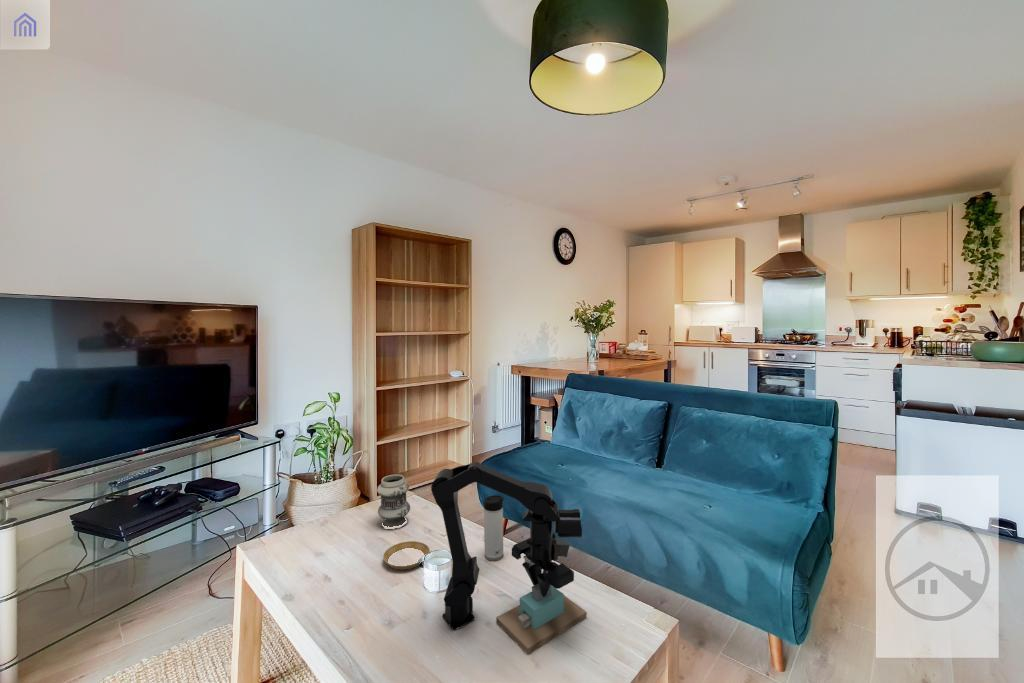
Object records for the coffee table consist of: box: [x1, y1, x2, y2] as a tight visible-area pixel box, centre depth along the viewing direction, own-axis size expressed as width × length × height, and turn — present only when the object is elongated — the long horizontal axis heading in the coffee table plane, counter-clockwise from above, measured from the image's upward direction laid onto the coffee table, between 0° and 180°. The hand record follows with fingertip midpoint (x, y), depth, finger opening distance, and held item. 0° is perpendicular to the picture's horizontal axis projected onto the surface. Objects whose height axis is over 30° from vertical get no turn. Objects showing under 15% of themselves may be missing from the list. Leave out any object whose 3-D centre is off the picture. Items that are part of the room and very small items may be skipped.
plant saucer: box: [383, 540, 430, 570], centre depth 138 cm, size 15×15×3 cm
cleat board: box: [495, 595, 588, 655], centre depth 110 cm, size 20×13×4 cm, turn 127°
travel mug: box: [483, 494, 505, 562], centre depth 139 cm, size 6×7×20 cm
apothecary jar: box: [376, 473, 411, 527], centre depth 162 cm, size 12×12×18 cm
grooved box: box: [519, 583, 564, 629], centre depth 110 cm, size 10×6×8 cm, turn 127°
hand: (541, 593), depth 110 cm, fingers closed on grooved box
